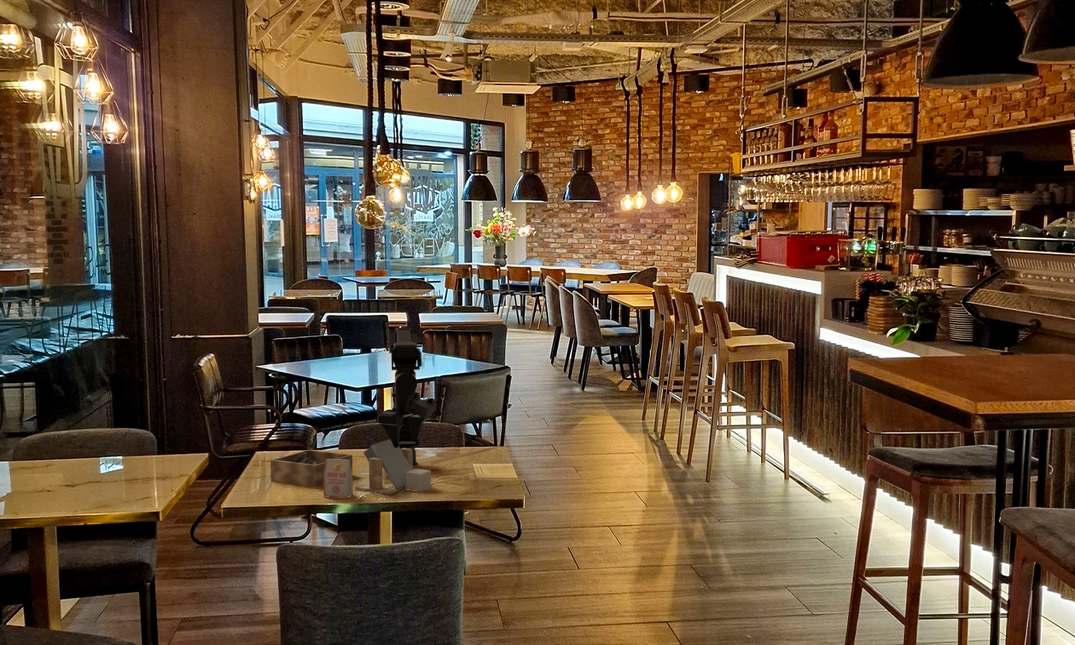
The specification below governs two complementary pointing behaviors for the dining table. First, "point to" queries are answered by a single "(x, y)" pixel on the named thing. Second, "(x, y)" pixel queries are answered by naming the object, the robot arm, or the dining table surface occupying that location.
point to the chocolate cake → (303, 459)
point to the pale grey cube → (418, 479)
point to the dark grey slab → (390, 461)
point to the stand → (376, 474)
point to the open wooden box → (304, 468)
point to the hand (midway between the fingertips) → (405, 444)
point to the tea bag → (337, 478)
